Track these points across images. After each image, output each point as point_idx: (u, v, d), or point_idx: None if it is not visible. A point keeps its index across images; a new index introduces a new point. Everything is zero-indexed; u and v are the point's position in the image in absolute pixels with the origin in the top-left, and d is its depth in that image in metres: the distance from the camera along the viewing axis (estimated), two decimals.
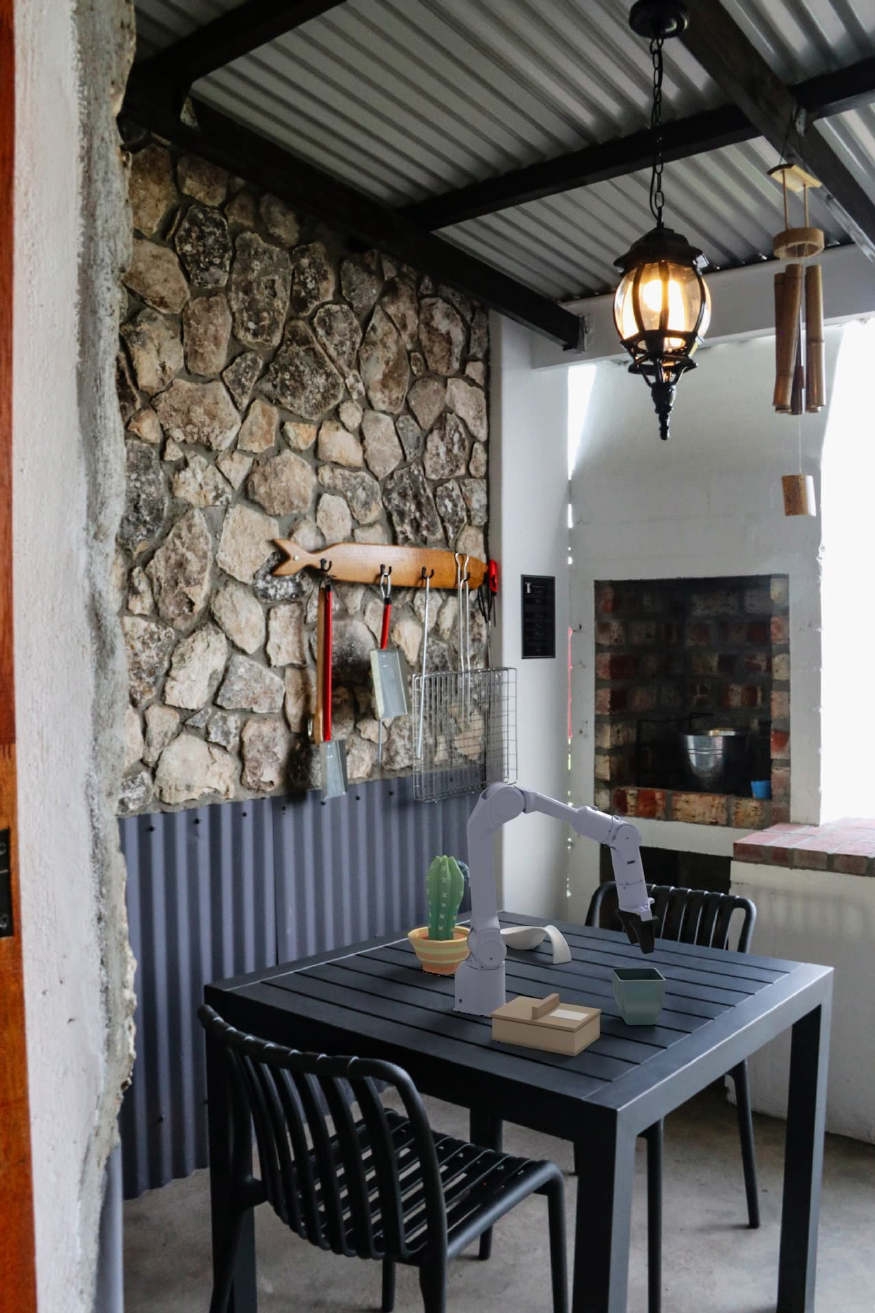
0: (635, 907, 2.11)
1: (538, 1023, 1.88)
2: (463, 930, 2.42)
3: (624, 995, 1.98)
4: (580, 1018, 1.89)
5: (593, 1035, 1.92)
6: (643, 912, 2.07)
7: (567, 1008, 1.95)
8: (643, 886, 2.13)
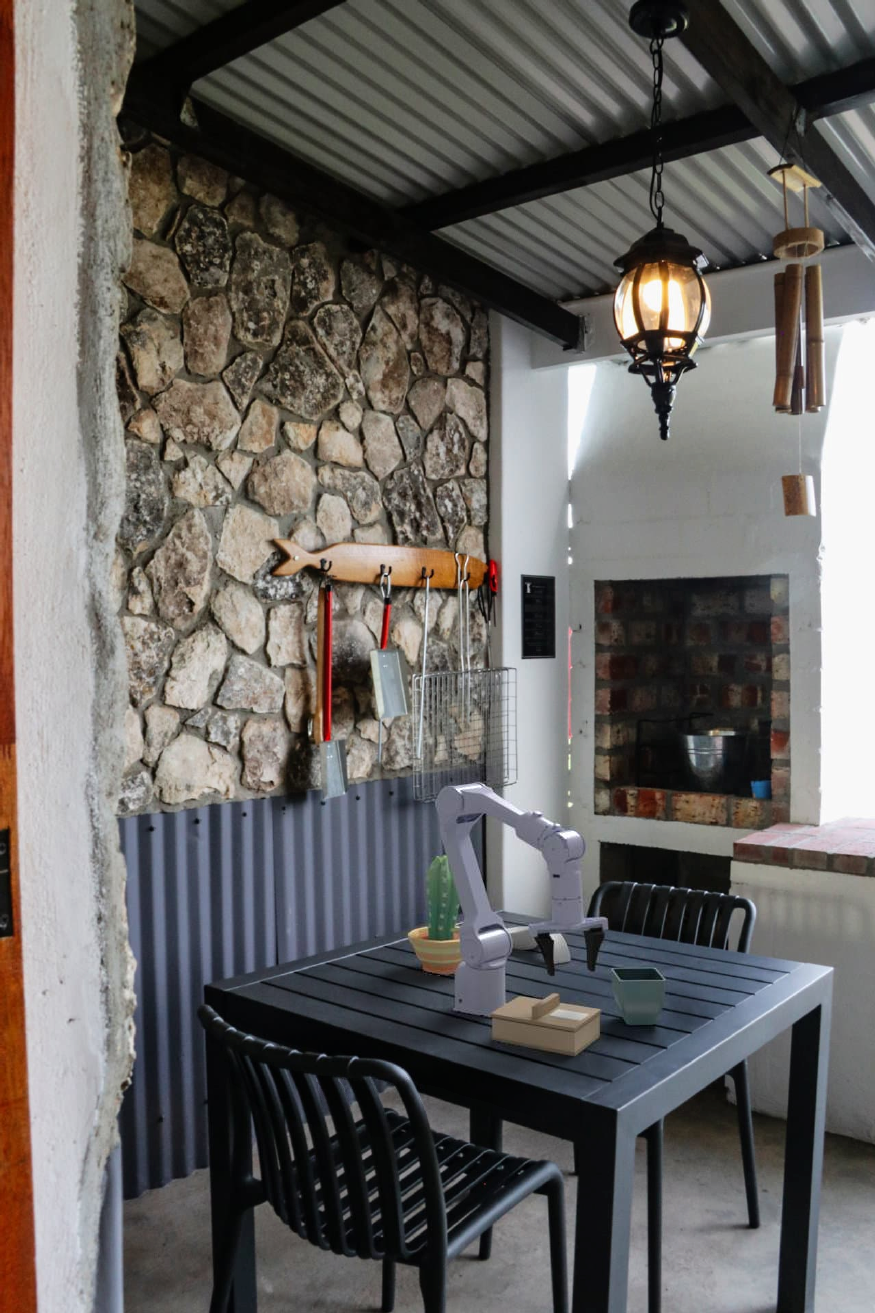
0: None
1: (538, 1023, 1.88)
2: None
3: (624, 995, 1.98)
4: (580, 1018, 1.89)
5: (593, 1035, 1.92)
6: (529, 926, 1.96)
7: (567, 1008, 1.95)
8: (559, 906, 1.95)
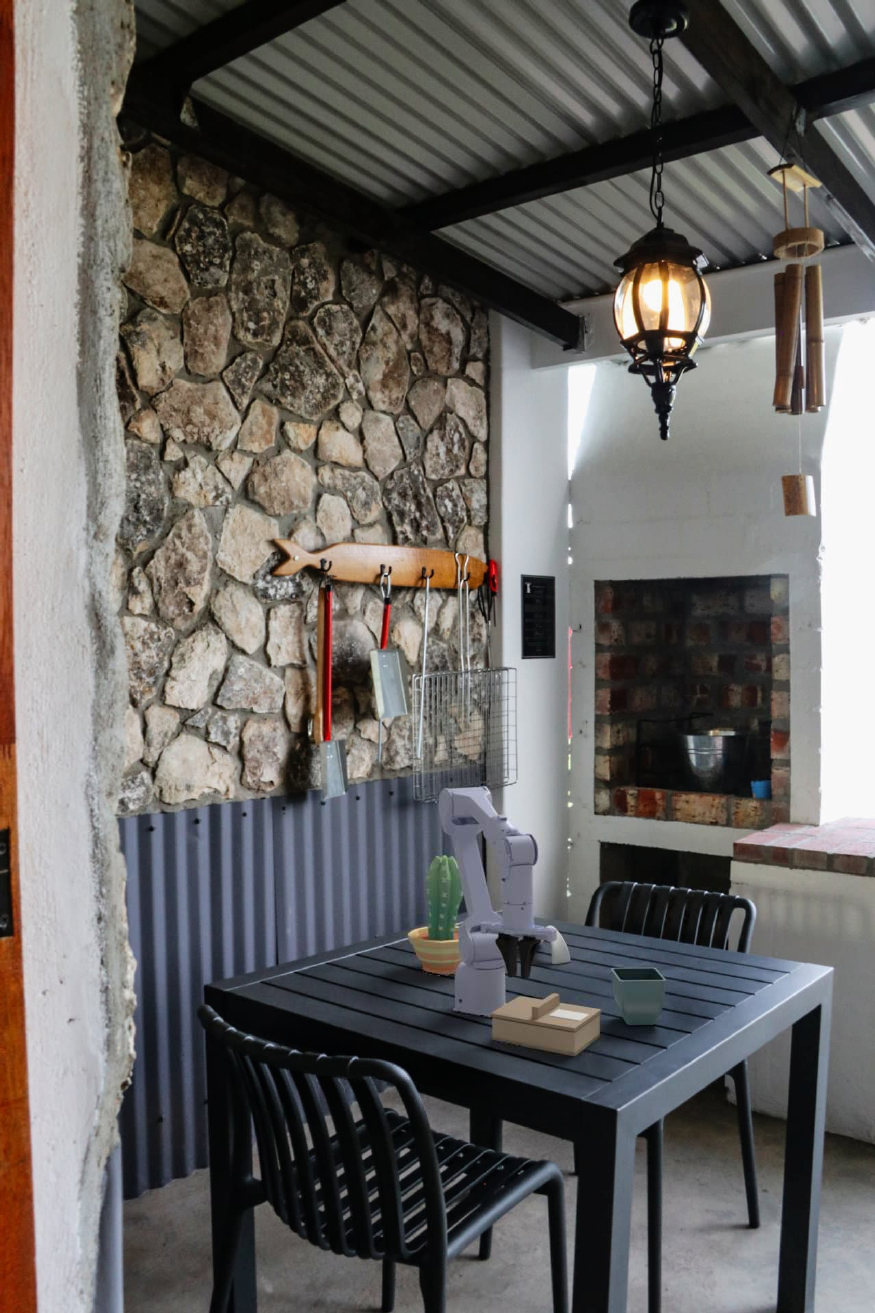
0: None
1: (538, 1023, 1.88)
2: None
3: (624, 995, 1.98)
4: (580, 1018, 1.89)
5: (593, 1035, 1.92)
6: None
7: (567, 1008, 1.95)
8: (502, 908, 1.96)
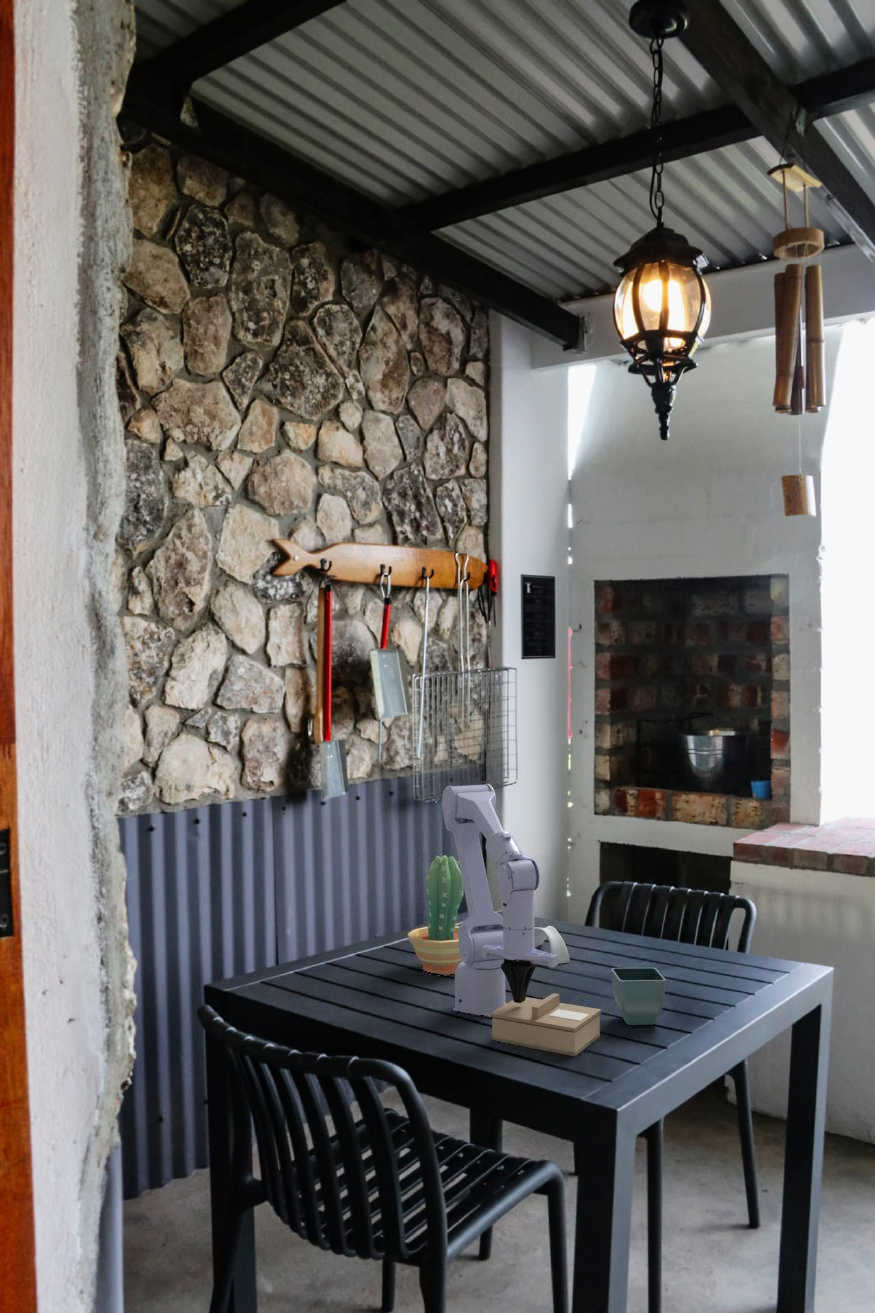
0: None
1: (538, 1023, 1.88)
2: None
3: (624, 995, 1.98)
4: (580, 1018, 1.89)
5: (593, 1035, 1.92)
6: None
7: (567, 1008, 1.95)
8: (503, 933, 1.96)
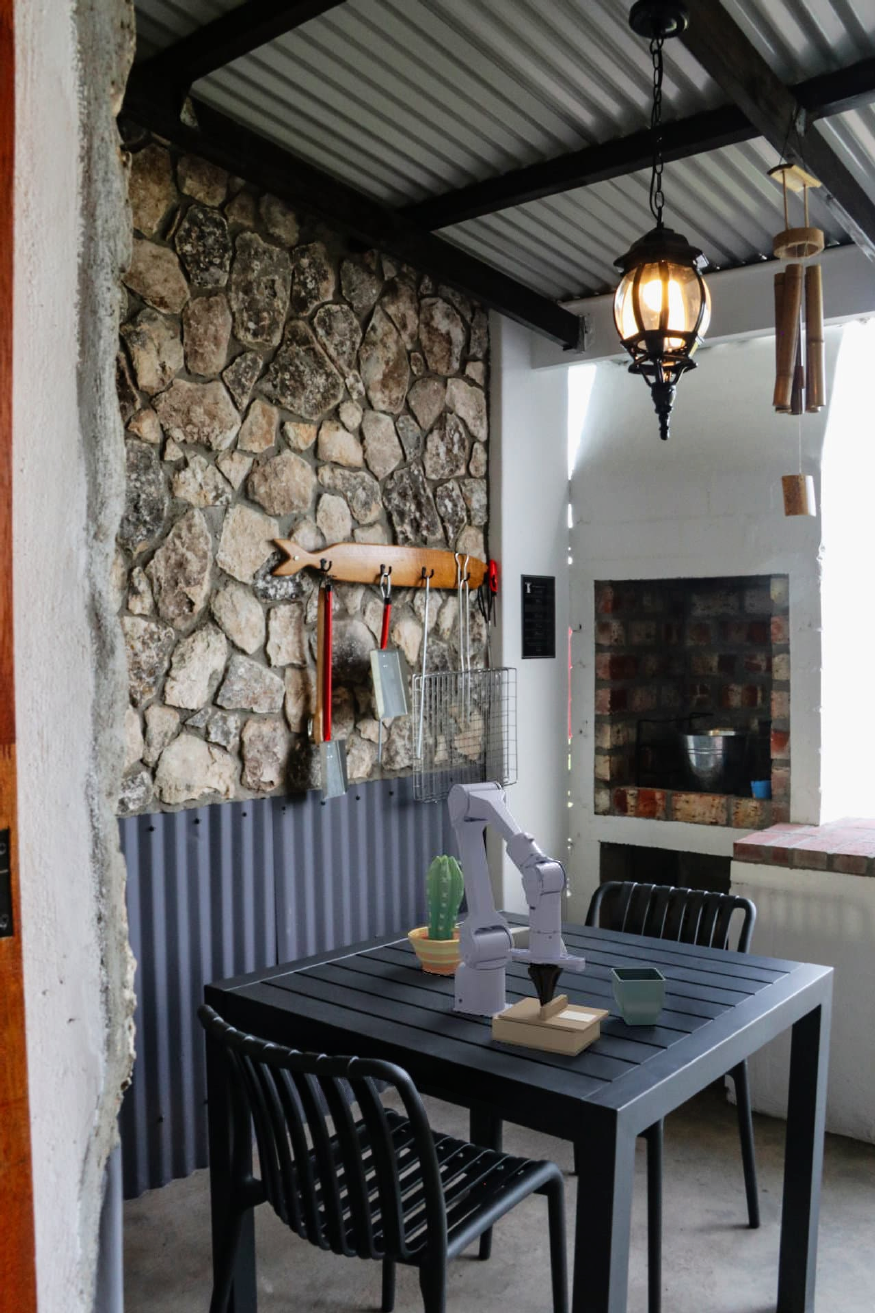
0: None
1: (546, 1024, 1.87)
2: None
3: (624, 995, 1.98)
4: (588, 1019, 1.88)
5: (593, 1035, 1.92)
6: None
7: (575, 1009, 1.94)
8: (529, 936, 1.93)
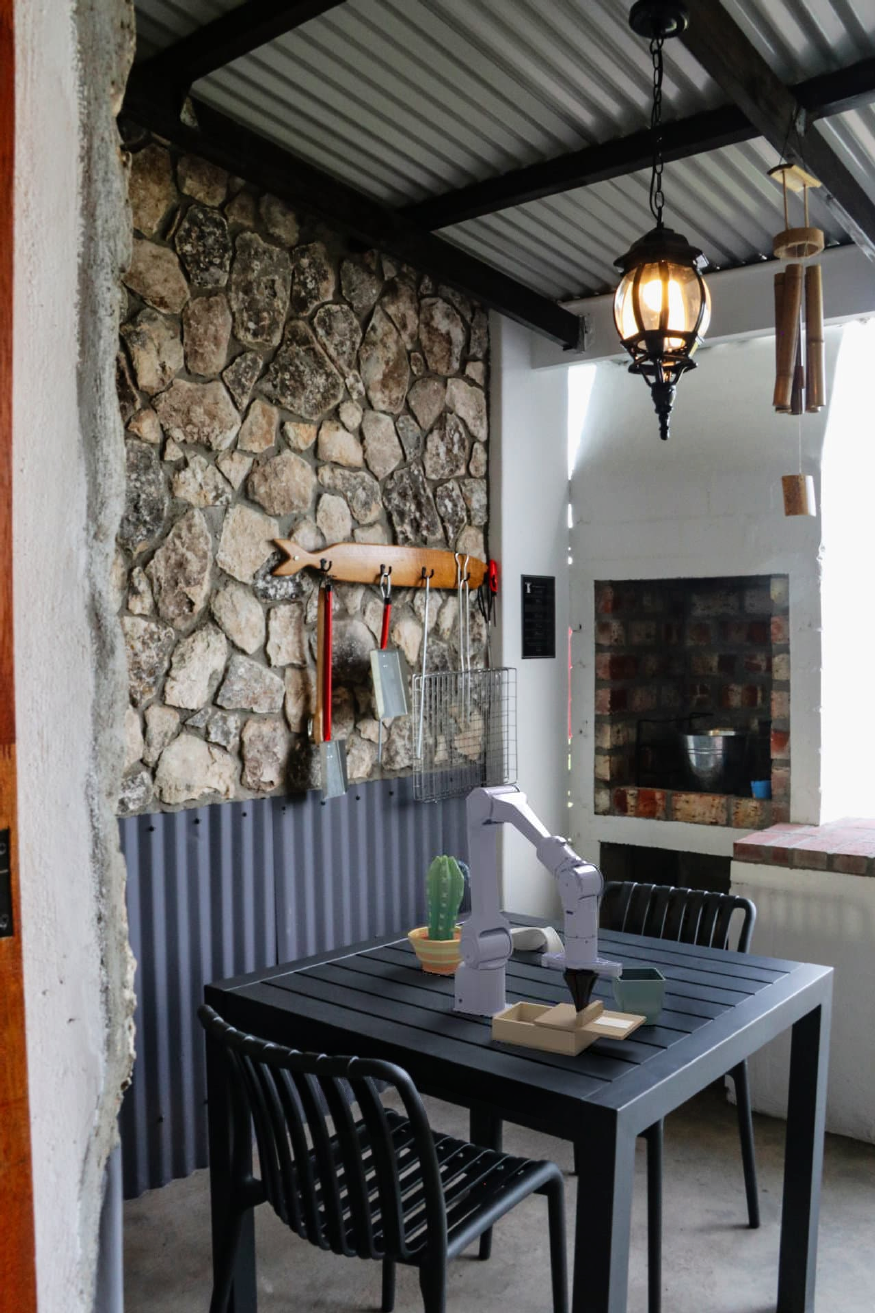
0: None
1: (583, 1031, 1.83)
2: None
3: (624, 995, 1.98)
4: (626, 1026, 1.85)
5: (593, 1035, 1.92)
6: None
7: (611, 1015, 1.91)
8: (565, 941, 1.89)
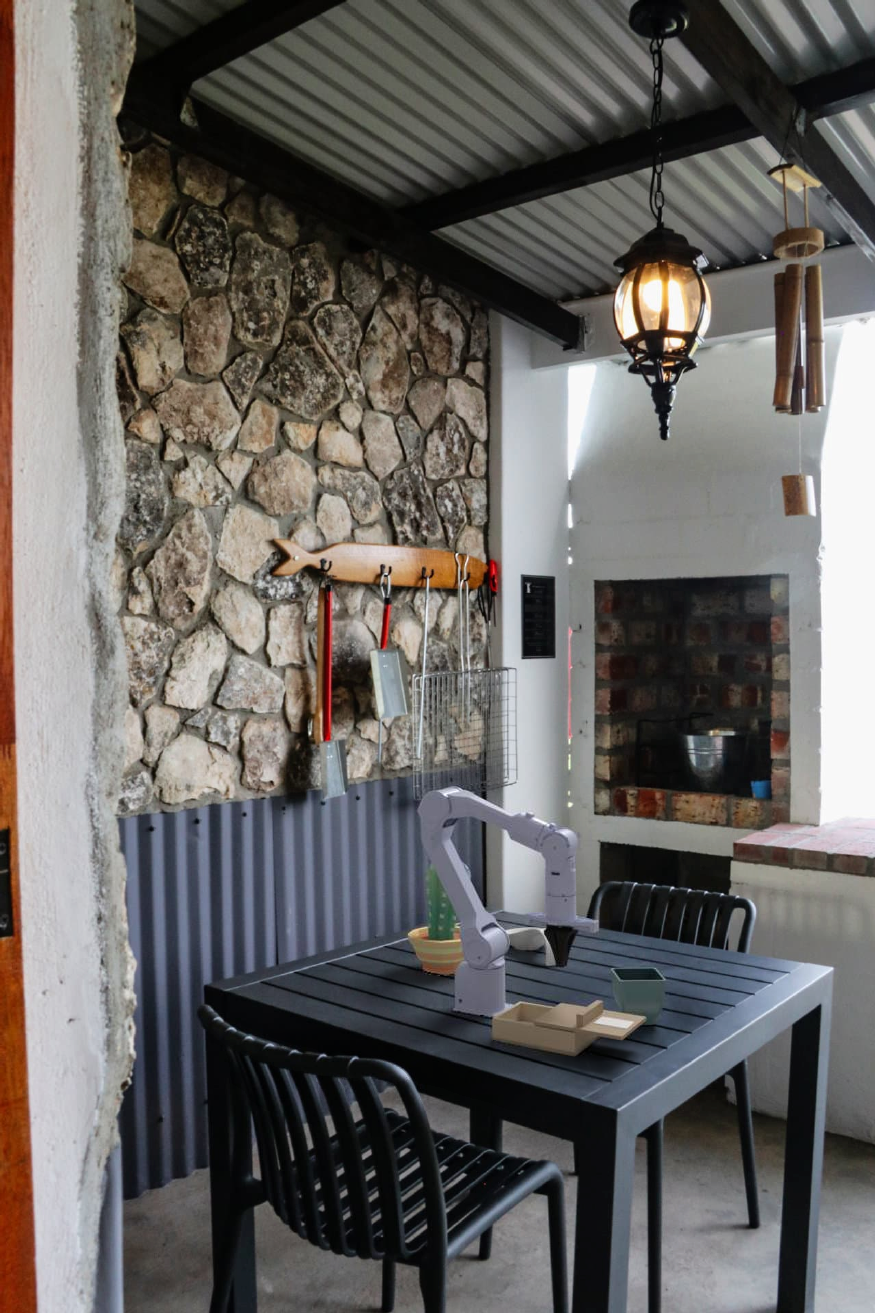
0: None
1: (583, 1031, 1.83)
2: None
3: (624, 995, 1.98)
4: (626, 1026, 1.85)
5: (593, 1035, 1.92)
6: None
7: (611, 1015, 1.91)
8: (546, 900, 2.03)
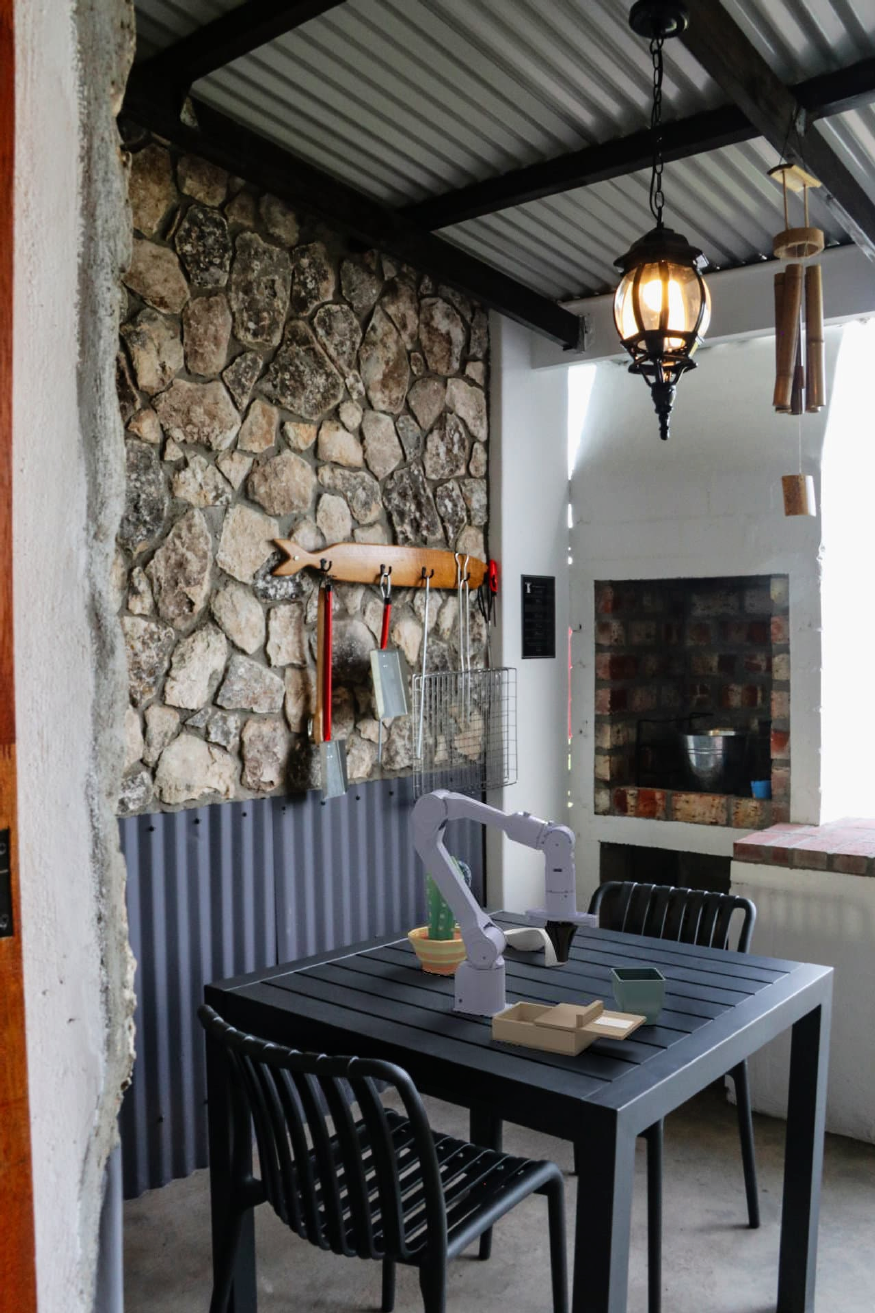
0: None
1: (583, 1031, 1.83)
2: None
3: (624, 995, 1.98)
4: (626, 1026, 1.85)
5: (593, 1035, 1.92)
6: None
7: (611, 1015, 1.91)
8: (546, 896, 2.06)
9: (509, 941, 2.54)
